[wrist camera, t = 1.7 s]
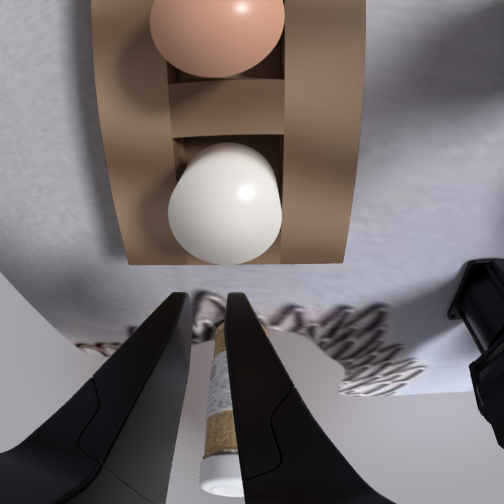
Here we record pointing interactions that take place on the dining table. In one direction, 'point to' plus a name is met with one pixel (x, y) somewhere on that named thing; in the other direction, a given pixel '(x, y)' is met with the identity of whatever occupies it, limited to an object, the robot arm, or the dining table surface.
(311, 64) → the knob mount
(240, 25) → the middle knob
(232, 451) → the sprinkles bottle
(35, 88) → the dining table surface
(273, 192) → the knob
